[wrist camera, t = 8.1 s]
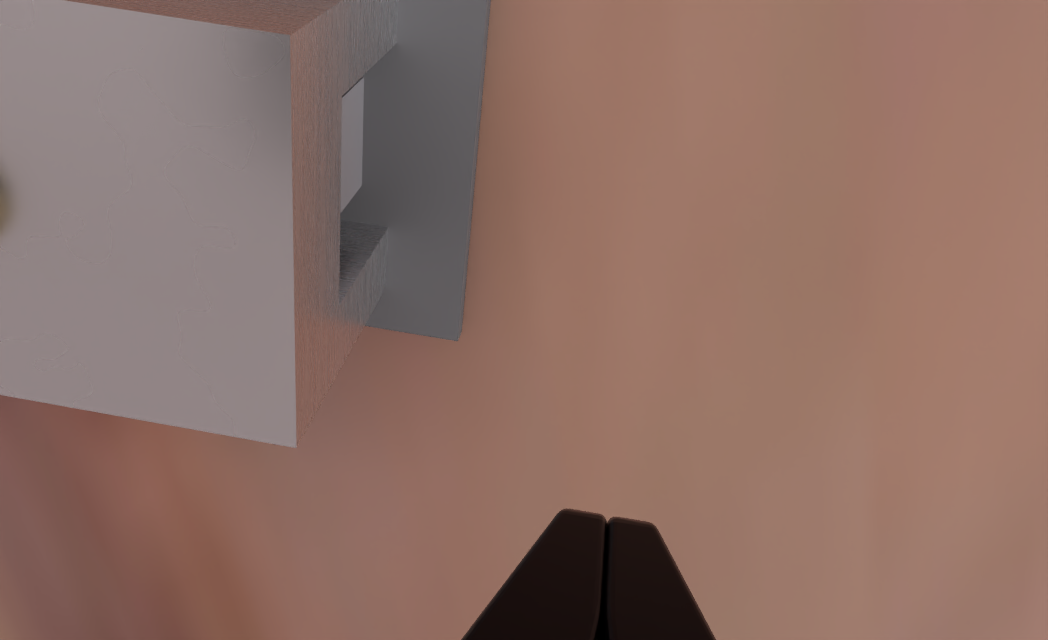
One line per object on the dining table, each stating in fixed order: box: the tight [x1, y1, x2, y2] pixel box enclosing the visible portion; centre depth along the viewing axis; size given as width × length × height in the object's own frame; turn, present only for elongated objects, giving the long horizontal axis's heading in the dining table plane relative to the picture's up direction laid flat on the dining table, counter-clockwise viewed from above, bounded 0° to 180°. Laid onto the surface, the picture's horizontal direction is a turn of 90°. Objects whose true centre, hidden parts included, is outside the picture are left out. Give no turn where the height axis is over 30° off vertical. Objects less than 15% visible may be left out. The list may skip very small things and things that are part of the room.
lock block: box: [0, 0, 398, 448], centre depth 14 cm, size 7×6×6 cm
